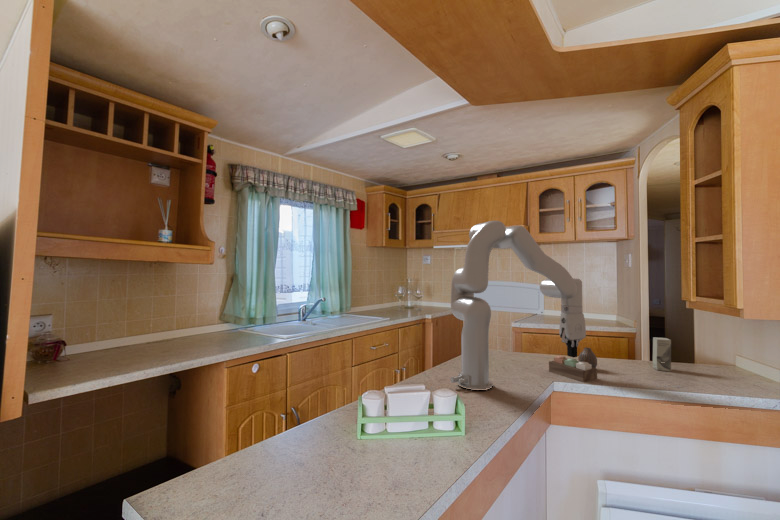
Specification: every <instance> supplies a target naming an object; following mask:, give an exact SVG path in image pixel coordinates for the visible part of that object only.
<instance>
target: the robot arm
mask: <svg viewBox="0 0 780 520" xmlns="http://www.w3.org/2000/svg"><path fill="white" fill-rule="evenodd" d="M468 237H469V241H468V244H467V246H466V248H465V249H466V250H465V255H464V256H465V257H464V265H463V267H459V268H458V269H456V271H455V272H454V273H453V275H452V279H451V285H450V286H451V287H450V288H451V291H450V310H451V313H452V315H453V316H454V317H455V318H456V319H458V320H460V321H463V326H462V328H461V329H462V330H461V336H460V337H461V371H460V372H458V375H457V376H450V382H451V383H452V384H453V383H458V384H459V385H461V386H463V387H466V388H471V389H486V388H490V387H492V386H493V387H494V382H493V381H492V380H490V378H489V377H490V376H489V375H490V371H489V369H490V366H489V362H490V361H489V359H490V358H489V355H490V354H489V353H490V352H489V351H490V350H489V349H490V348H489V347H490V345H489V341H490V340H489V336H490V335H489V334H490V333H489V332H490V323H491V317H492V309H491V306H490V304H489V303H488V302H487V301H486V300H485V299H483V298H481V297H476V296H475V294H482V293H484V292H485V291H487V288H488V285H489V265H490V263H489V262H490V254H491V252H492V250H493V249H499V250H500V249H502V250H503V249H504V250H505V249H507V250H508V249H511V250H512V251H513V253H514V254H515V255H516V256H517V258H518V259H519V260H520V262H521V263H522V264H523V266H524V267H525V268H527V269H528V270H530V271H532V272H534V273H538V274H539V275H542V276H544V277H545V278H546V279H542V281H541V282H540V283H539V291H540V293H541V294H542V295H543V296H545V297H549V298H556V299H560V309H561V310H560V316H559V317H560V318H559V328H558V329H559V337H560V338H561V343H564V344H565V346H566V351H567V353H566V355H567V357H570V358H578V347H579V343H580V342H581V341H583V340H584V339H585V338H586V336H587V331H586V330H587V329H586V327H587V326H586V319H585V315H584V312H583V280H582V279H580V278H573V277H572V274H570V273H569V271H568V270H567V269H566V267H564V266H563V265H562V264H560V263H559V262H557V261H556V260H554V259H553V258H552V257H550V256H549V255H547V254H546V253H545V252H544V251H543V250H542V248H541V247H540V245H539V244H538V243H537V241H536V240H535V239H534V238H533V236H532V234H531V233H530V232H529V230H528V229H527V228H526V227H525V226H522V225H512V226H506V225H505V224H504V222H502V221H500V220H489V221H485V222H480V223H477V224H475V225H473V226H472V227H471V228H470V230H469V232H468ZM458 384H457V385H458Z"/></svg>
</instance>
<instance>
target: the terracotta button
mask: <svg viewBox="0 0 780 520" xmlns="http://www.w3.org/2000/svg"><path fill="white" fill-rule="evenodd" d="M567 359H569V358H568V357H566V356H564V355H556V356H554V357H553V361H554V362H557V363H561V364H565V360H567Z"/></svg>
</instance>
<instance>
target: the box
mask: <svg viewBox="0 0 780 520" xmlns="http://www.w3.org/2000/svg"><path fill="white" fill-rule="evenodd" d="M661 362H665V363H661ZM652 368H654V370H656V371H663V372H671V371H672V339H669V338H667V337H656V336H655V337H652Z"/></svg>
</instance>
